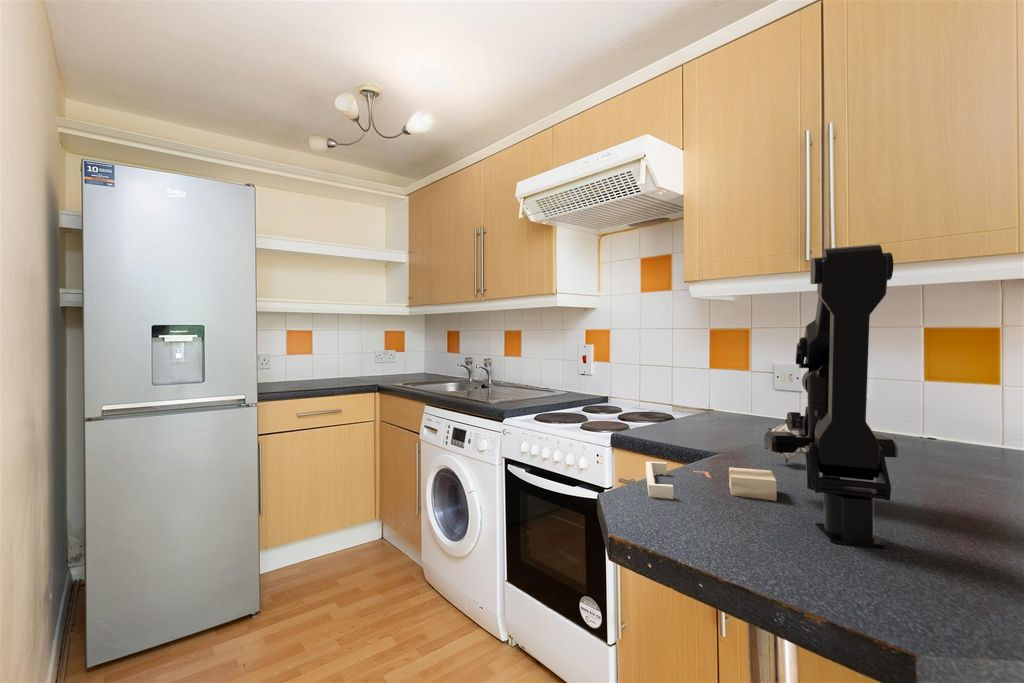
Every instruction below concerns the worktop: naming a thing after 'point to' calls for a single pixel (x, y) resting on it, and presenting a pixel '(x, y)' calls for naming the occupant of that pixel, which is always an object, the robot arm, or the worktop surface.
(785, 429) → the game die
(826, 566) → the worktop surface
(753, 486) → the birch block
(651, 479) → the cream u-shaped piece
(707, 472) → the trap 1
